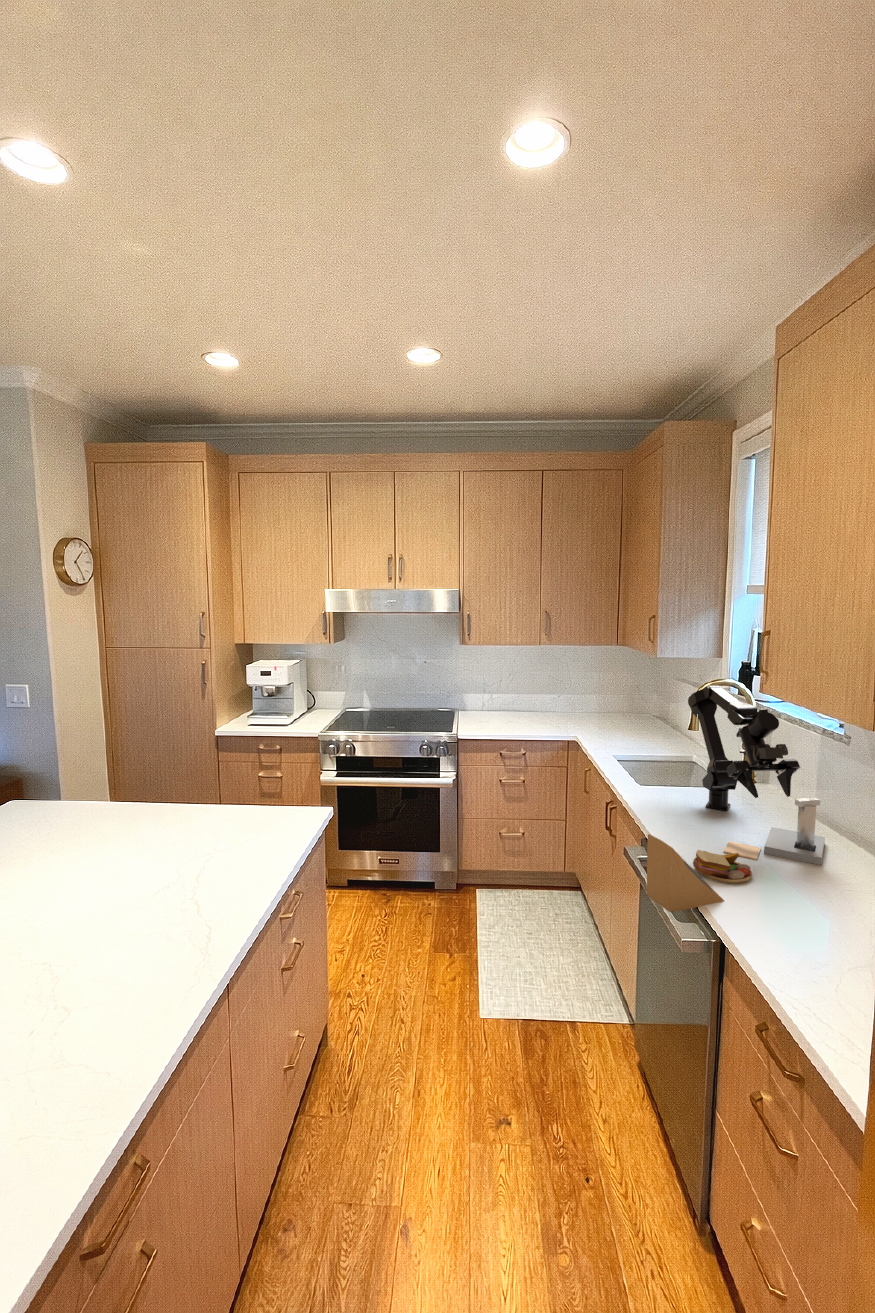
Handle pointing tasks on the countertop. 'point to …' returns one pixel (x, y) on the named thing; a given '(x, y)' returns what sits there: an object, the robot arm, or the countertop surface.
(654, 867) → the sandwich container
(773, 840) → the cover plate
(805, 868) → the countertop surface
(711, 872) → the toy sandwich meal
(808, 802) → the t key
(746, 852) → the coaster
